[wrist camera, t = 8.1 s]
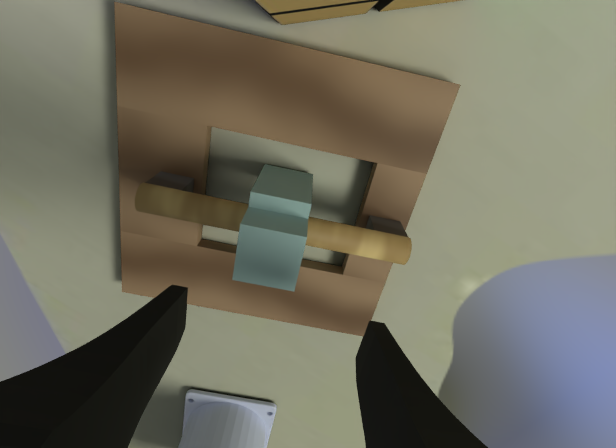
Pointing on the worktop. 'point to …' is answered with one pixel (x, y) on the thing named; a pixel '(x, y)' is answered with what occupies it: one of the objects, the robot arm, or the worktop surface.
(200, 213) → the board with dowel handle
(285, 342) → the worktop surface
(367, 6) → the puzzle cube
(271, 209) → the stepped grey-green block
